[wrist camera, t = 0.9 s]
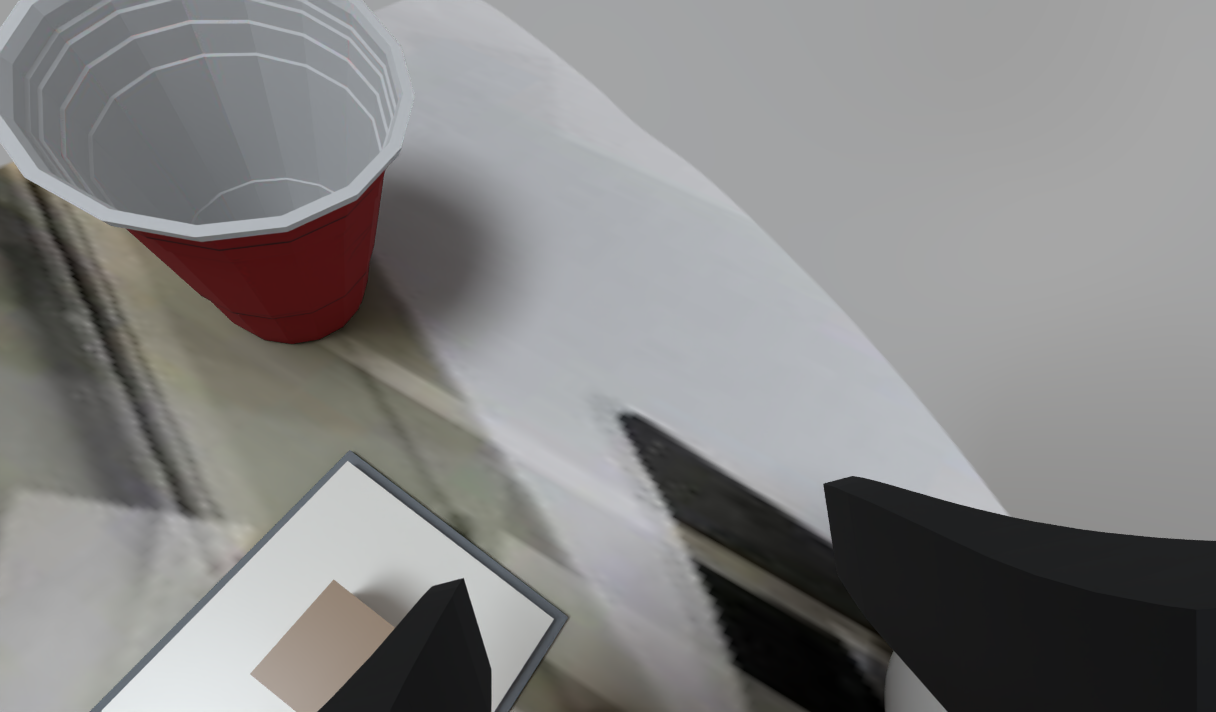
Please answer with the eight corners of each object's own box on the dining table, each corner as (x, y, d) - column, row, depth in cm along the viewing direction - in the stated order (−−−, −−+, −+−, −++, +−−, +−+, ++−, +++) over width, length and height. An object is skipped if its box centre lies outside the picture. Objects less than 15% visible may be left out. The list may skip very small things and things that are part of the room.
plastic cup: (132, 410, 24) (-104, 204, 13) (176, 194, 28) (27, -83, 18) (424, 399, 27) (416, 224, 16) (420, 205, 31) (412, -26, 21)
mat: (360, 942, 18) (359, 946, 18) (90, 714, 19) (85, 715, 19) (567, 617, 24) (568, 617, 24) (350, 452, 25) (349, 450, 25)
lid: (358, 916, 18) (336, 985, 14) (113, 709, 19) (24, 719, 15) (550, 620, 23) (574, 608, 19) (350, 466, 24) (332, 424, 20)
